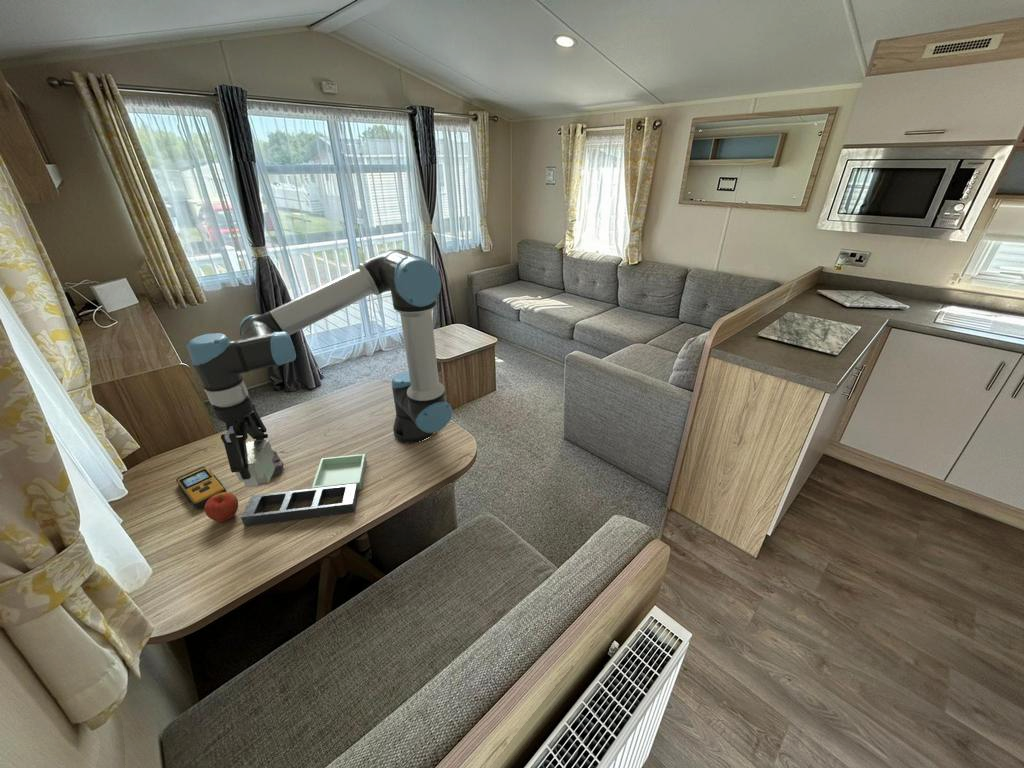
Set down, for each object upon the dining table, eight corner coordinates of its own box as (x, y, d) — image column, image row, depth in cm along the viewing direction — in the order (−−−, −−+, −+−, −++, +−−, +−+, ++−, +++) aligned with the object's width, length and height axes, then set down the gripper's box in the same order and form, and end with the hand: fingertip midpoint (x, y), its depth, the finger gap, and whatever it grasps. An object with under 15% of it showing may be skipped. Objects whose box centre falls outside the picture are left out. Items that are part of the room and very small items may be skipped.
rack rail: (358, 492, 118) (356, 483, 116) (354, 512, 111) (352, 503, 109) (255, 504, 113) (251, 495, 111) (244, 526, 106) (240, 517, 105)
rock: (264, 484, 120) (260, 472, 118) (245, 469, 126) (240, 458, 124) (290, 469, 126) (286, 457, 124) (270, 456, 132) (267, 444, 130)
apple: (231, 503, 113) (222, 482, 109) (248, 512, 111) (239, 491, 107) (204, 521, 108) (193, 499, 104) (221, 531, 105) (211, 509, 101)
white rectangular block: (277, 464, 109) (268, 439, 105) (266, 487, 101) (256, 462, 97) (256, 466, 108) (246, 442, 104) (243, 490, 100) (232, 465, 96)
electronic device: (197, 513, 111) (192, 504, 109) (177, 487, 119) (173, 478, 117) (230, 495, 116) (226, 487, 115) (209, 472, 125) (205, 463, 123)
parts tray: (366, 461, 130) (365, 453, 129) (361, 489, 119) (359, 482, 117) (323, 465, 128) (321, 458, 126) (313, 495, 117) (311, 487, 115)
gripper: (231, 378, 101) (258, 447, 112) (188, 428, 83) (225, 505, 94) (263, 375, 102) (287, 444, 114) (228, 424, 84) (260, 501, 95)
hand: (259, 472), depth 104 cm, fingers closed on white rectangular block, 9 cm apart
